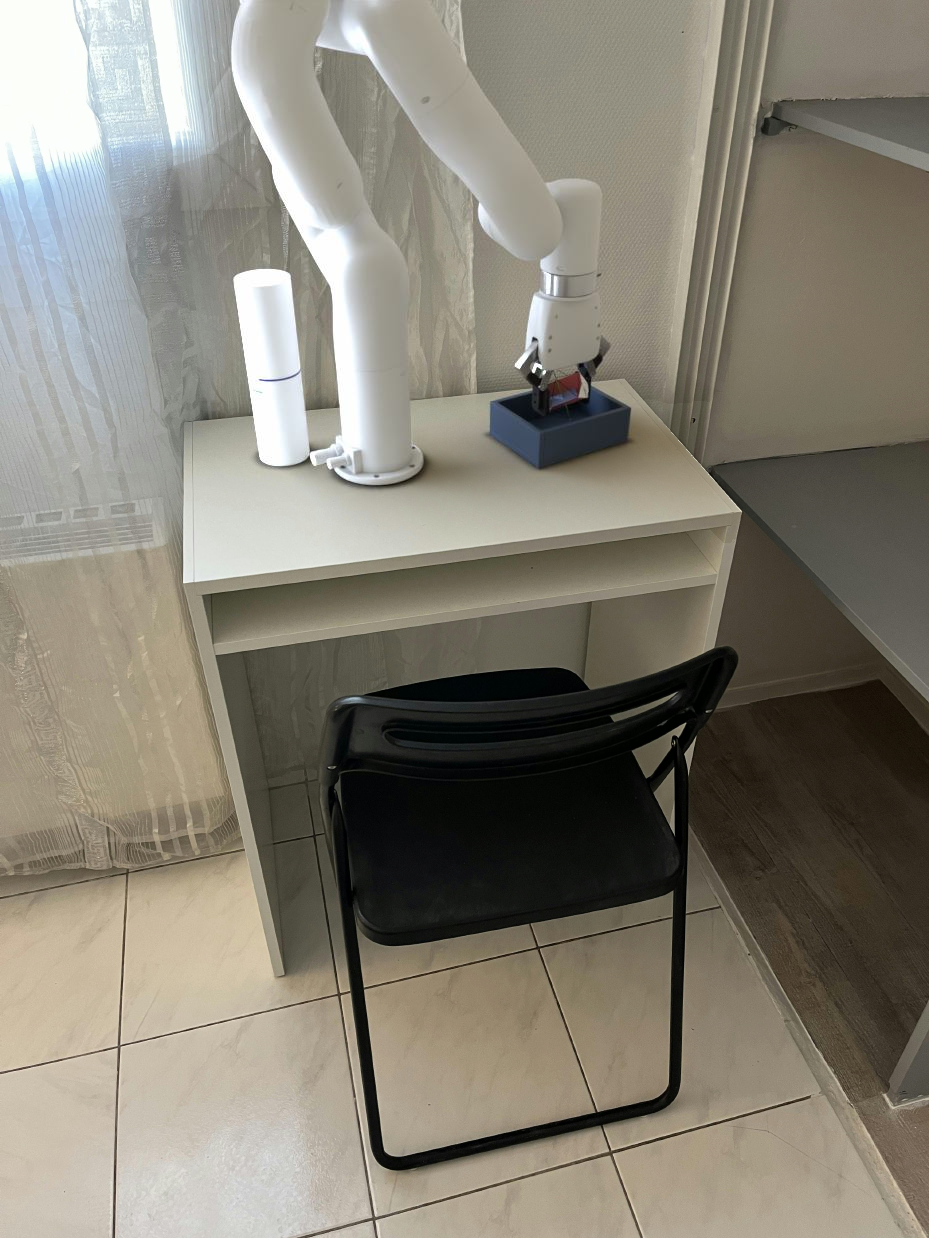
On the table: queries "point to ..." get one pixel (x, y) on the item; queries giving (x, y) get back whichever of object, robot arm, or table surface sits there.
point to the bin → (559, 427)
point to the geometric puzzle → (567, 391)
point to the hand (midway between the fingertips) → (561, 405)
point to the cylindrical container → (273, 365)
